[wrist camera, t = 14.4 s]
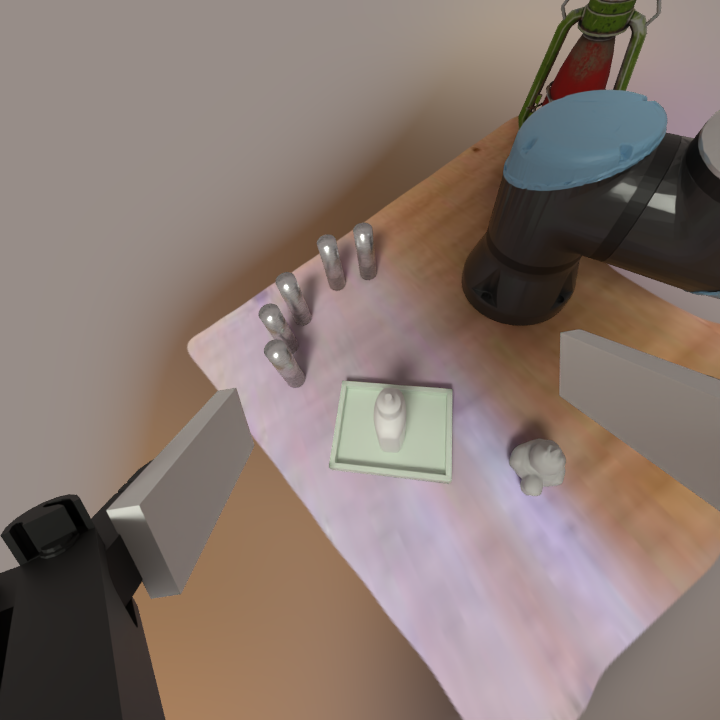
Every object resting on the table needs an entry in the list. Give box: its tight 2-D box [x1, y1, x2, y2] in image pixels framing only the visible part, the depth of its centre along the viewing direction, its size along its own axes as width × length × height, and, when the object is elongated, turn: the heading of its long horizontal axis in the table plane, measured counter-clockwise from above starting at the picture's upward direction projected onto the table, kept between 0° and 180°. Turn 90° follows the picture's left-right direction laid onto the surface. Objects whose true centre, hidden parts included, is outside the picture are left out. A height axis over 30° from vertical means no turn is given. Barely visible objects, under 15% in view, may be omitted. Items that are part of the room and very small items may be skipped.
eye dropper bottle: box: [374, 388, 406, 453], centre depth 37 cm, size 4×6×12 cm
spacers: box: [259, 223, 376, 388], centre depth 48 cm, size 7×23×9 cm, turn 150°
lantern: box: [518, 0, 661, 129], centre depth 47 cm, size 14×11×30 cm
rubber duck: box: [509, 438, 566, 496], centre depth 36 cm, size 5×7×8 cm
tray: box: [329, 381, 452, 484], centre depth 42 cm, size 14×11×2 cm
